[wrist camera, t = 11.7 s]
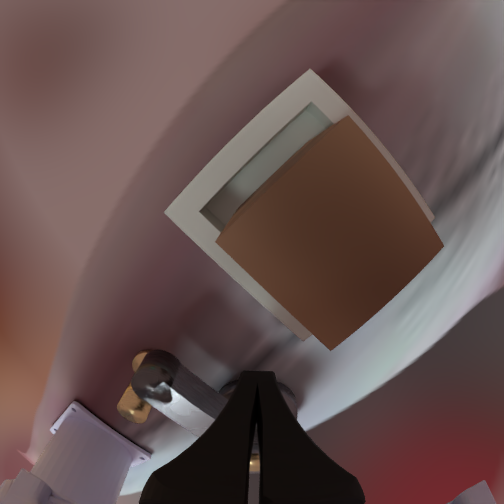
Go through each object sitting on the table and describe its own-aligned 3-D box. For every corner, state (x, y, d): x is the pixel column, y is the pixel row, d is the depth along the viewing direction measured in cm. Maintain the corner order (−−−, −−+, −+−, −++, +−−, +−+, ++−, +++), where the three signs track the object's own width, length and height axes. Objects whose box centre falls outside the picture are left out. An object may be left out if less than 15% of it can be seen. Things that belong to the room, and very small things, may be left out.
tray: (298, 319, 14) (303, 341, 12) (178, 206, 13) (163, 212, 11) (413, 210, 12) (435, 217, 10) (303, 83, 11) (310, 68, 9)
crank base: (244, 442, 17) (241, 486, 13) (127, 363, 15) (100, 405, 11) (312, 404, 16) (320, 453, 12) (185, 305, 14) (161, 350, 10)
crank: (293, 421, 14) (297, 464, 11) (253, 441, 15) (252, 482, 12) (172, 326, 13) (149, 368, 10) (137, 357, 13) (112, 397, 10)
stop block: (301, 272, 13) (330, 351, 7) (237, 208, 12) (214, 242, 6) (366, 212, 12) (443, 246, 6) (305, 142, 11) (348, 114, 5)
